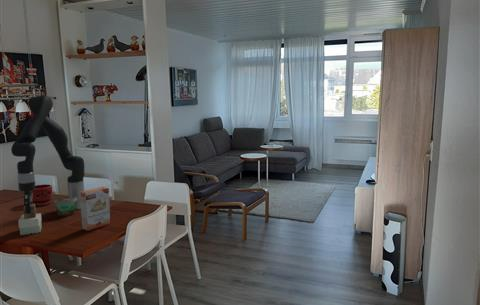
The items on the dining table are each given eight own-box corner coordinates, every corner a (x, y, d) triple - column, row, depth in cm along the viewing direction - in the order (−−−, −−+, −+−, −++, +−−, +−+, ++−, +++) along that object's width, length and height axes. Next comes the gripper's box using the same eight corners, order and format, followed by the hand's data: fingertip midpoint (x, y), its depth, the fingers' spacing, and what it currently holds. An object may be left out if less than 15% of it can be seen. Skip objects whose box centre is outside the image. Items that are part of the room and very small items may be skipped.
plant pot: (57, 202, 239) (56, 185, 238) (37, 208, 228) (35, 189, 227) (46, 199, 246) (45, 182, 244) (26, 204, 235) (25, 186, 233)
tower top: (41, 220, 196) (40, 213, 195) (38, 226, 188) (38, 218, 187) (22, 222, 193) (21, 215, 192) (18, 228, 184) (18, 220, 184)
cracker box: (88, 231, 190) (85, 193, 186) (81, 229, 193) (79, 191, 190) (111, 224, 201) (109, 187, 198) (104, 221, 205) (102, 186, 201)
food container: (55, 218, 210) (54, 201, 208) (55, 215, 215) (54, 199, 213) (78, 215, 215) (77, 199, 214) (77, 212, 221) (76, 196, 219)
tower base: (41, 227, 197) (41, 220, 196) (40, 233, 189) (39, 225, 188) (22, 229, 193) (21, 222, 192) (20, 235, 185) (19, 228, 184)
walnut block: (36, 214, 193) (35, 203, 192) (35, 217, 189) (34, 206, 188) (25, 215, 191) (24, 204, 190) (24, 218, 187) (23, 207, 186)
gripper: (33, 183, 182) (36, 214, 184) (35, 177, 195) (38, 206, 197) (16, 184, 179) (19, 216, 181) (19, 178, 191) (22, 208, 194)
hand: (29, 210), depth 189 cm, fingers open, 8 cm apart
